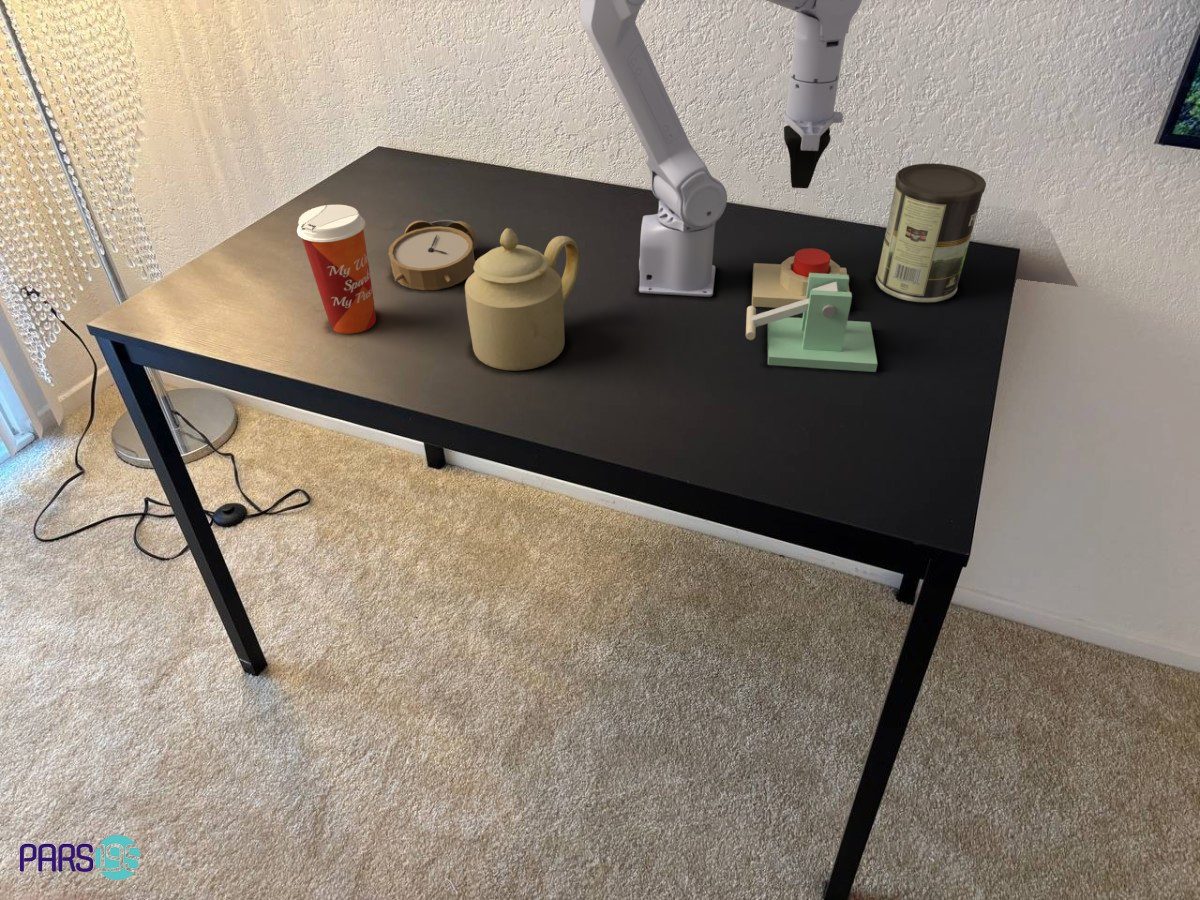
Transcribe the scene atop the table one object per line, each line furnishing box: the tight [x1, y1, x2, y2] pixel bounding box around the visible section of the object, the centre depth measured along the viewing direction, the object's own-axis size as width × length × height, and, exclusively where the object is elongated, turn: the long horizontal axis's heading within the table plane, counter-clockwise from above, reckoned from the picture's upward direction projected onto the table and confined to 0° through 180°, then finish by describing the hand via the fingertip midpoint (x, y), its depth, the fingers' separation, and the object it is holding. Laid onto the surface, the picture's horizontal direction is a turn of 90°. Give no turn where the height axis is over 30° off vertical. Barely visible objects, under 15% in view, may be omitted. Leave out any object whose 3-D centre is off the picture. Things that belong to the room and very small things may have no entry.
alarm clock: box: [387, 219, 478, 291], centre depth 118 cm, size 11×5×15 cm
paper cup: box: [296, 204, 377, 335], centre depth 103 cm, size 8×8×14 cm
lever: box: [745, 282, 840, 341], centre depth 98 cm, size 11×6×2 cm, turn 80°
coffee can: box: [875, 162, 987, 304], centre depth 108 cm, size 10×10×14 cm
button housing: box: [751, 255, 852, 312], centre depth 110 cm, size 12×9×4 cm
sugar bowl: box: [464, 227, 581, 372], centre depth 99 cm, size 15×11×15 cm
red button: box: [793, 247, 831, 277], centre depth 108 cm, size 4×4×2 cm
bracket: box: [767, 273, 878, 373], centre depth 98 cm, size 12×9×8 cm
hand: (799, 186), depth 111 cm, fingers closed
